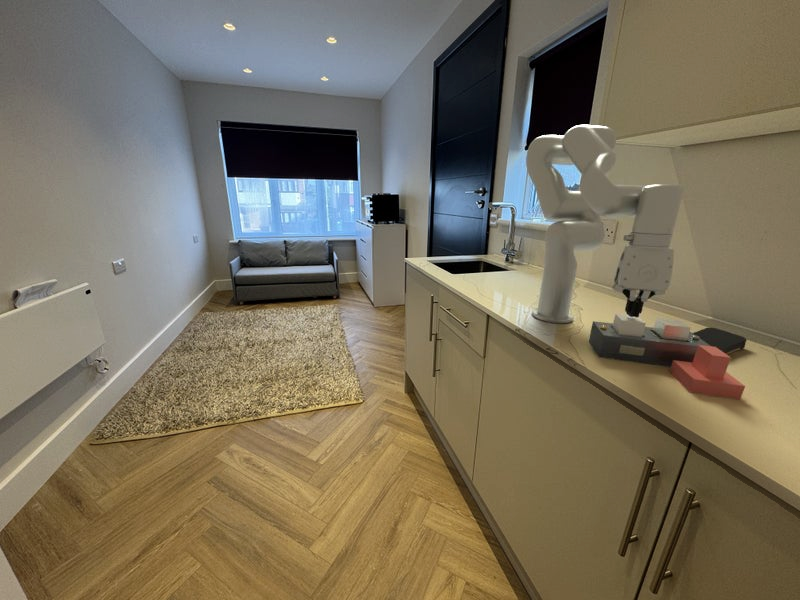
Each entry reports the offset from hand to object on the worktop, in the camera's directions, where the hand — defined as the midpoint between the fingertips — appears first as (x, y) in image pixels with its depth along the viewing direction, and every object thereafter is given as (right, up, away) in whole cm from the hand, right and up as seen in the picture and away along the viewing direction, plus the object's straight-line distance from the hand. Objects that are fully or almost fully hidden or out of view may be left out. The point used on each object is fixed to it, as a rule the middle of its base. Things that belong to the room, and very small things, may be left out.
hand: (632, 315), depth 79 cm
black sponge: (+26, -10, +7) cm, 29 cm away
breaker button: (0, -5, +2) cm, 5 cm away
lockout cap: (+7, -14, -11) cm, 19 cm away
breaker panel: (+4, -10, +2) cm, 11 cm away
